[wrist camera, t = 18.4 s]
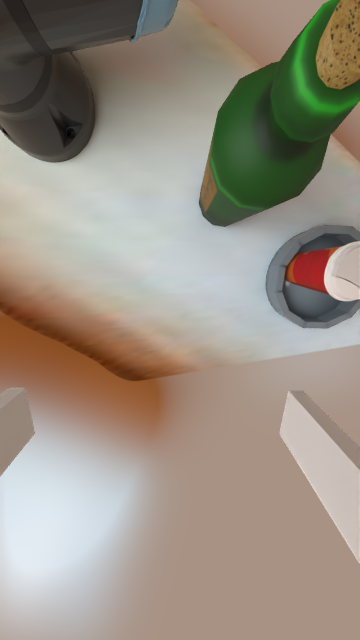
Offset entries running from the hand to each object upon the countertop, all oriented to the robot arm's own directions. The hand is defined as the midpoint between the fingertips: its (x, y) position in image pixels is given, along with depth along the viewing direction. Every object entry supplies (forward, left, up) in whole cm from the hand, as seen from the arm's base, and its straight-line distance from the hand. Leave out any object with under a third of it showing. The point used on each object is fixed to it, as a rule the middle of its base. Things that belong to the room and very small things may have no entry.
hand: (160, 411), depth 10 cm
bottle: (-18, +9, -32) cm, 38 cm away
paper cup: (-7, +24, -31) cm, 40 cm away
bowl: (-5, +28, -32) cm, 43 cm away
